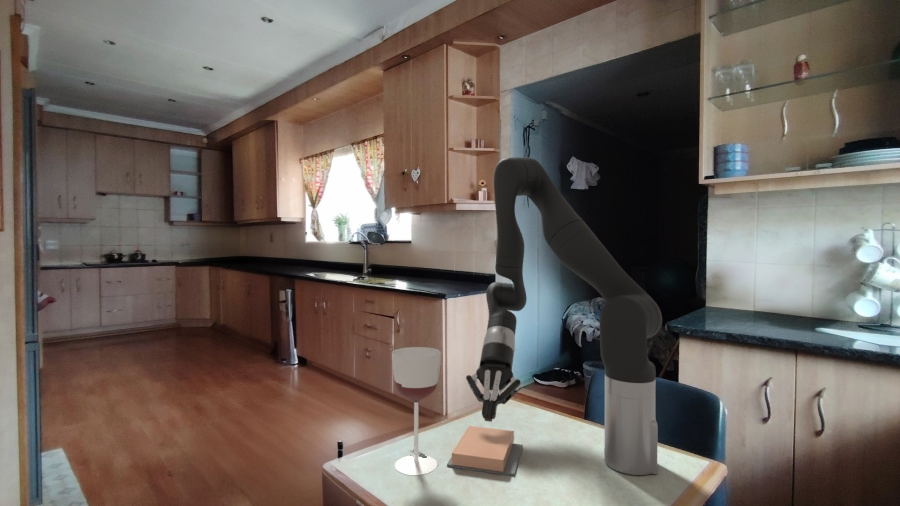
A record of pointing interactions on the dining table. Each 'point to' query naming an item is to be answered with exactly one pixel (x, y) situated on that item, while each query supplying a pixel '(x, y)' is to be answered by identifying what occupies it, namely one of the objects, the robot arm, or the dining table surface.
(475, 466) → the picture frame
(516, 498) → the dining table surface
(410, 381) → the wineglass
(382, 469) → the dining table surface
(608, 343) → the robot arm
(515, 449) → the mat
